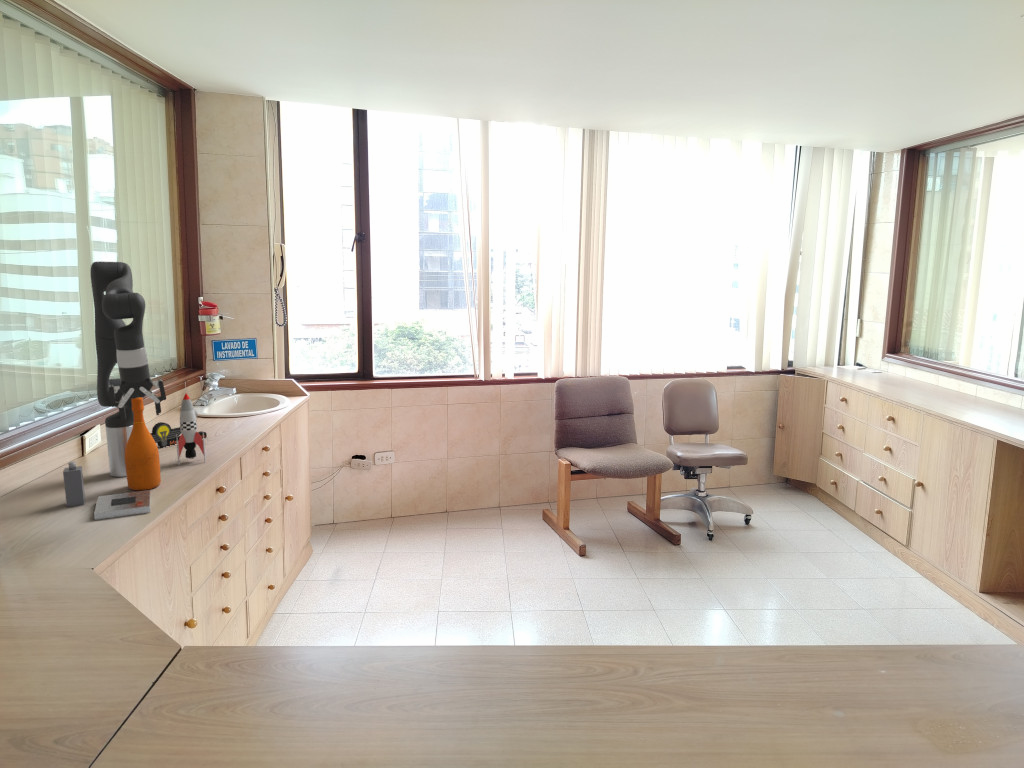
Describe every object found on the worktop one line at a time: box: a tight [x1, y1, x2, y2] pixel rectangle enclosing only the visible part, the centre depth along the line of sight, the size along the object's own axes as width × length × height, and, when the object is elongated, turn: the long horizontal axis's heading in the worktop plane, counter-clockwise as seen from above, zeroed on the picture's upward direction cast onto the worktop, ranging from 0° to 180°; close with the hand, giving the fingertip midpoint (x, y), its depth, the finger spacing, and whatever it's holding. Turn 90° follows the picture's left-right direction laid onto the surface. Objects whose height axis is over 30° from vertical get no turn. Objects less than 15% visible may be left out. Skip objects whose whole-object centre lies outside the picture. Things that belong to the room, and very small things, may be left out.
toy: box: [176, 381, 207, 465], centre depth 249 cm, size 9×8×30 cm
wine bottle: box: [125, 397, 162, 491], centre depth 221 cm, size 10×10×30 cm
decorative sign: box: [150, 421, 208, 448], centre depth 275 cm, size 27×2×10 cm, turn 147°
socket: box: [93, 489, 152, 521], centre depth 205 cm, size 16×14×3 cm
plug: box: [62, 461, 86, 508], centre depth 207 cm, size 4×4×13 cm
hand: (141, 416), depth 200 cm, fingers open, 8 cm apart
